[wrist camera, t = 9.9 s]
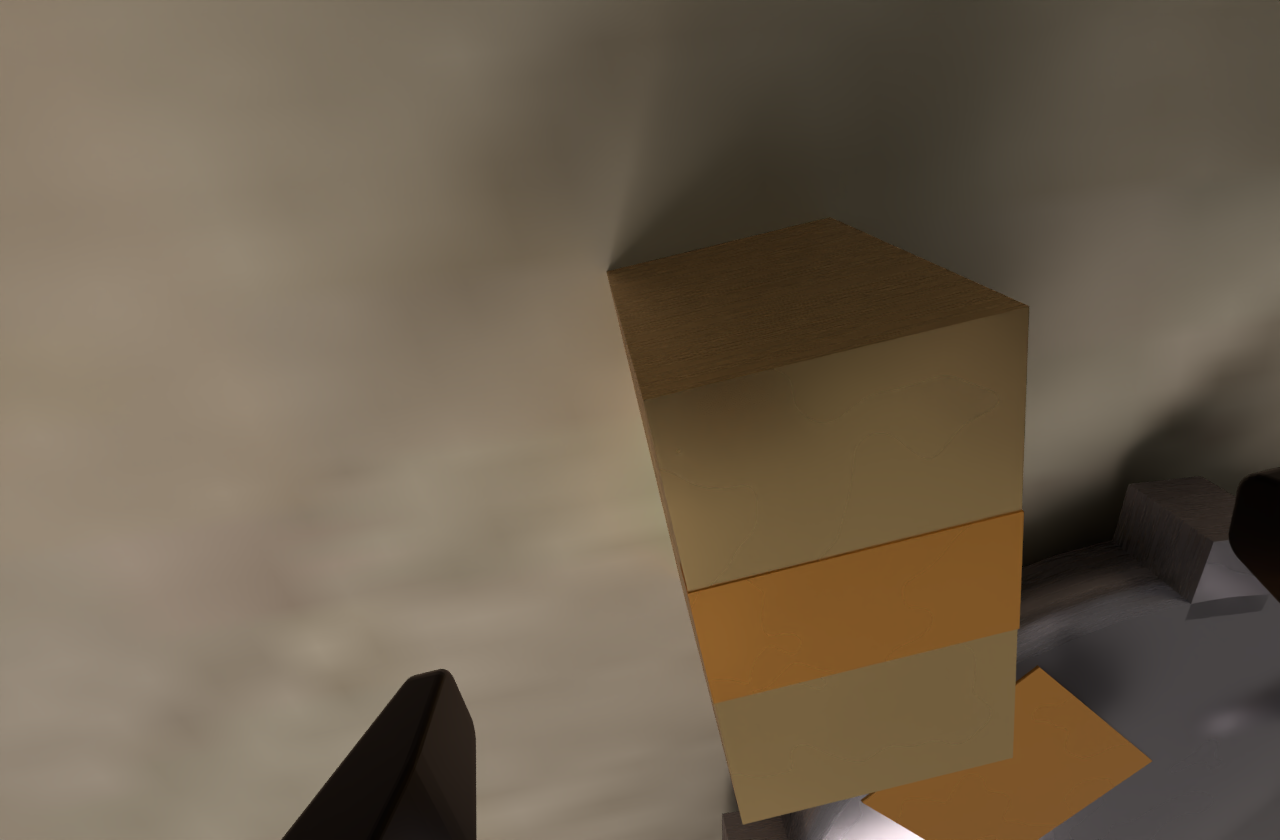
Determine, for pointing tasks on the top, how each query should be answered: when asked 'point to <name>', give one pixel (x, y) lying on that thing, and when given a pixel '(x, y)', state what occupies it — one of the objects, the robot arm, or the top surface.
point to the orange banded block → (837, 502)
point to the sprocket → (1113, 700)
